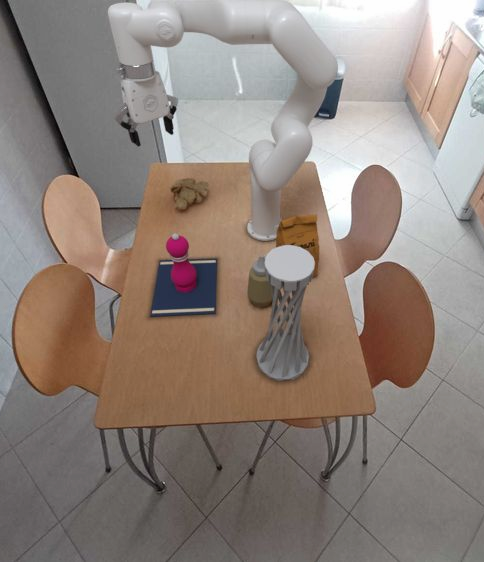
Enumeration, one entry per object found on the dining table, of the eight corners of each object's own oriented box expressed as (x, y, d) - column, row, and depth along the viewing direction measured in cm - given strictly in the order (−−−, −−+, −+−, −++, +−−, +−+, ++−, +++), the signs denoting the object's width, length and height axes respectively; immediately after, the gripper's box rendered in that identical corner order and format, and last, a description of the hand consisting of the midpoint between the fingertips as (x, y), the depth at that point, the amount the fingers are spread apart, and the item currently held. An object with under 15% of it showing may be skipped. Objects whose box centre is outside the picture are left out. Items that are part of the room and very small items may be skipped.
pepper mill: (196, 294, 114) (186, 244, 99) (171, 293, 114) (157, 243, 99) (199, 276, 119) (191, 225, 104) (176, 275, 119) (164, 224, 104)
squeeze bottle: (279, 293, 116) (281, 249, 102) (269, 314, 111) (271, 270, 97) (253, 286, 117) (252, 242, 104) (243, 306, 112) (241, 262, 99)
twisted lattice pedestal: (306, 335, 106) (321, 239, 80) (310, 380, 97) (328, 288, 71) (256, 335, 106) (255, 238, 80) (256, 381, 97) (253, 288, 71)
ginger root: (196, 177, 152) (195, 162, 145) (216, 205, 147) (216, 191, 140) (159, 191, 147) (156, 176, 140) (178, 221, 141) (176, 207, 134)
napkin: (217, 259, 125) (217, 258, 124) (215, 314, 110) (215, 313, 110) (159, 261, 123) (159, 260, 123) (150, 317, 109) (150, 316, 108)
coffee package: (319, 281, 120) (328, 225, 103) (280, 287, 117) (283, 231, 101) (310, 258, 126) (317, 203, 110) (272, 264, 124) (274, 208, 107)
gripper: (110, 83, 84) (130, 155, 97) (179, 65, 92) (189, 133, 105) (95, 72, 88) (116, 143, 101) (162, 56, 96) (174, 123, 109)
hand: (153, 138), depth 103 cm, fingers open, 9 cm apart
